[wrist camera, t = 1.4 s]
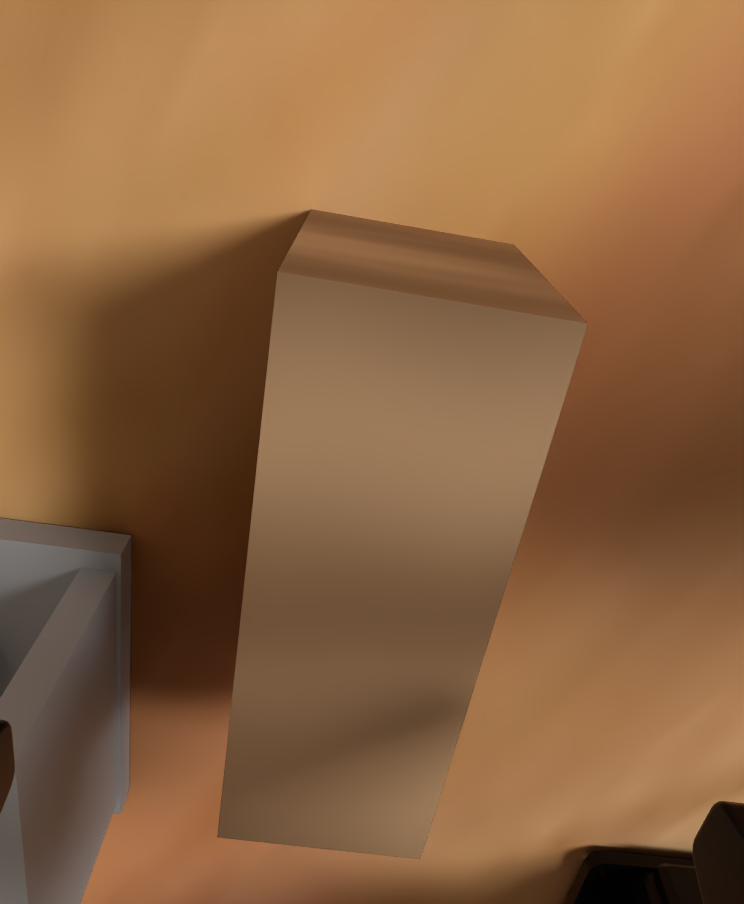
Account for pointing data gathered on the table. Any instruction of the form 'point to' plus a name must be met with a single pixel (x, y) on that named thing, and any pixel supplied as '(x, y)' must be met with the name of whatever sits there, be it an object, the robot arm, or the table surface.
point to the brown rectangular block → (383, 522)
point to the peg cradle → (62, 703)
